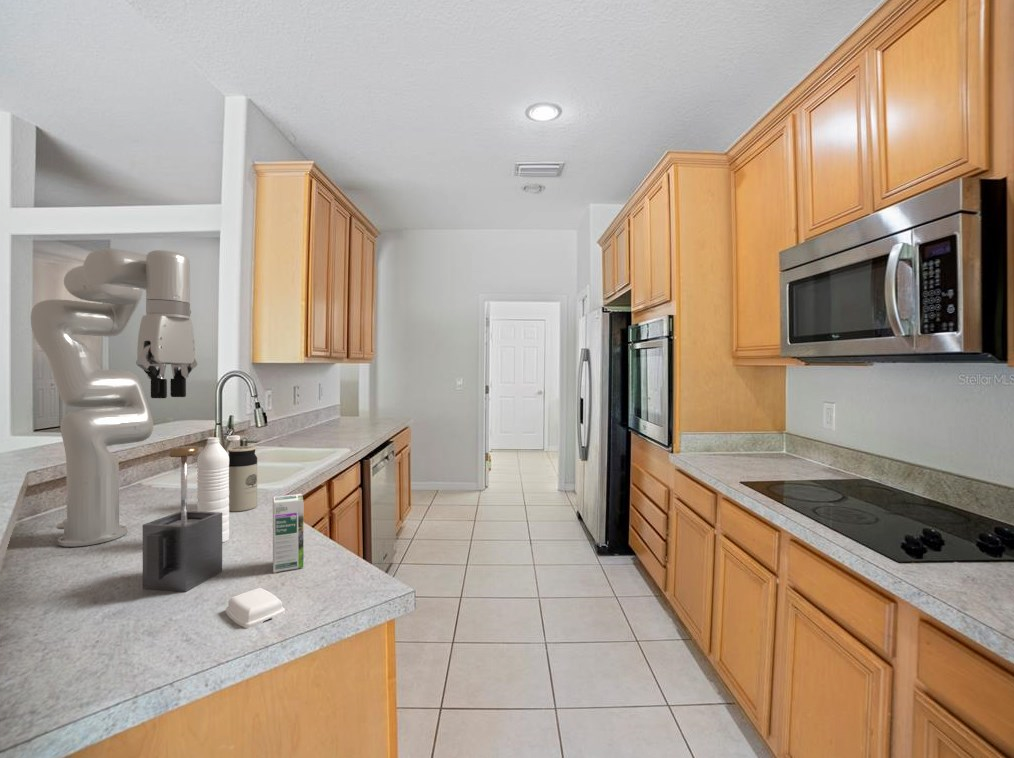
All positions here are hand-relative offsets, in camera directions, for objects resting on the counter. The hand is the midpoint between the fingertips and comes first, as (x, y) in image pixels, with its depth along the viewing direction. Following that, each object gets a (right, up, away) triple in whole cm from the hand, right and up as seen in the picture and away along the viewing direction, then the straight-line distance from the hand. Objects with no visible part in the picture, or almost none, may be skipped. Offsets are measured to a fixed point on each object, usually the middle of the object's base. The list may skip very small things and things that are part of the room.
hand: (168, 396), depth 98 cm
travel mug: (-7, -35, +40) cm, 53 cm away
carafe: (+9, -35, -9) cm, 38 cm away
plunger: (+9, -25, -8) cm, 28 cm away
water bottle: (+2, -35, +13) cm, 38 cm away
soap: (+29, -36, -20) cm, 51 cm away
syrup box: (+26, -36, -1) cm, 44 cm away
